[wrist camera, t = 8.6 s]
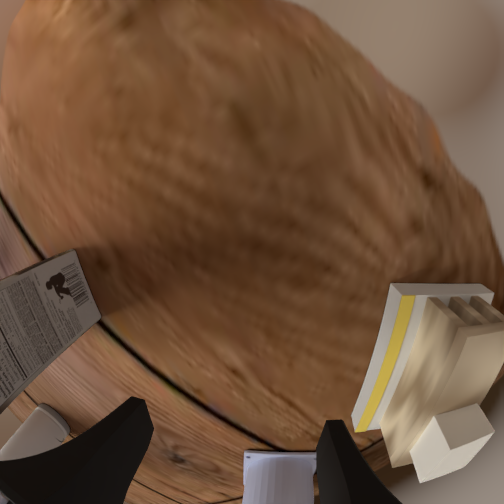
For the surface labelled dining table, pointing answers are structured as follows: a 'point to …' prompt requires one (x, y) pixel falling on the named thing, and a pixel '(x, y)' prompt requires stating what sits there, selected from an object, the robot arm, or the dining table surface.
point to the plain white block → (450, 442)
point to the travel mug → (36, 434)
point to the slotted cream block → (443, 369)
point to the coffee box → (41, 319)
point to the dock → (400, 343)
